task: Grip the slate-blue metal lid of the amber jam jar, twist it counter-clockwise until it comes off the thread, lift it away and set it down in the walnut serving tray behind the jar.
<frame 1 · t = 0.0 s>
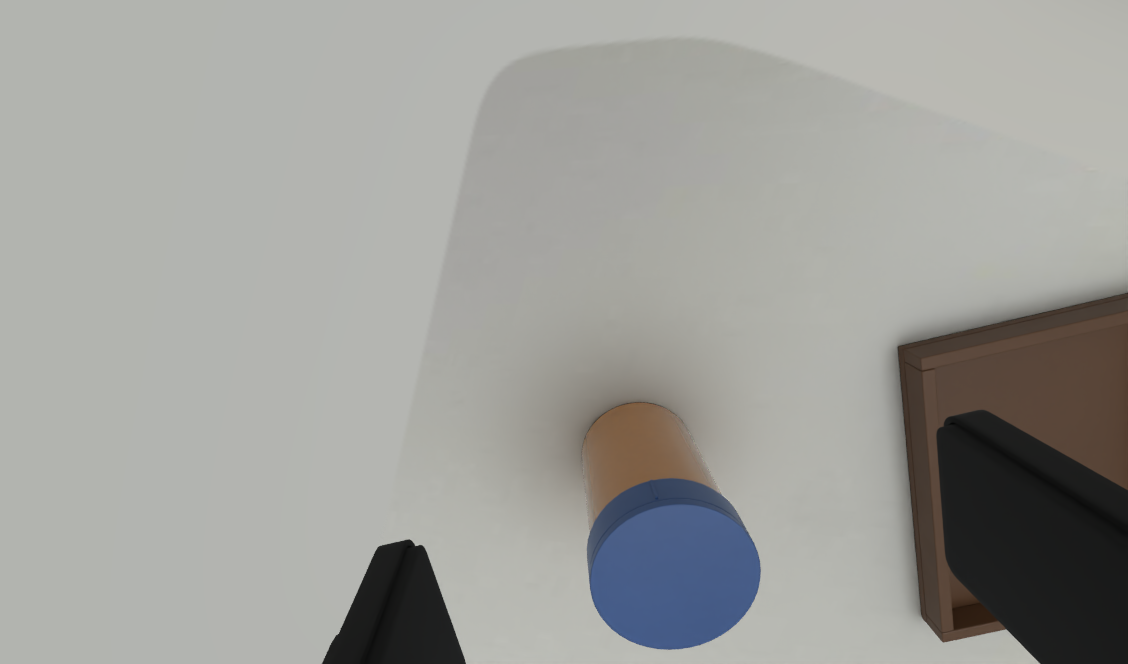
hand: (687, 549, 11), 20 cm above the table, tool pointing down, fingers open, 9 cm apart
tray: (1031, 464, 33), on the table
jar: (637, 453, 32), on the table
lid: (673, 573, 23), point 10 cm above the table, screwed on, not yet turned
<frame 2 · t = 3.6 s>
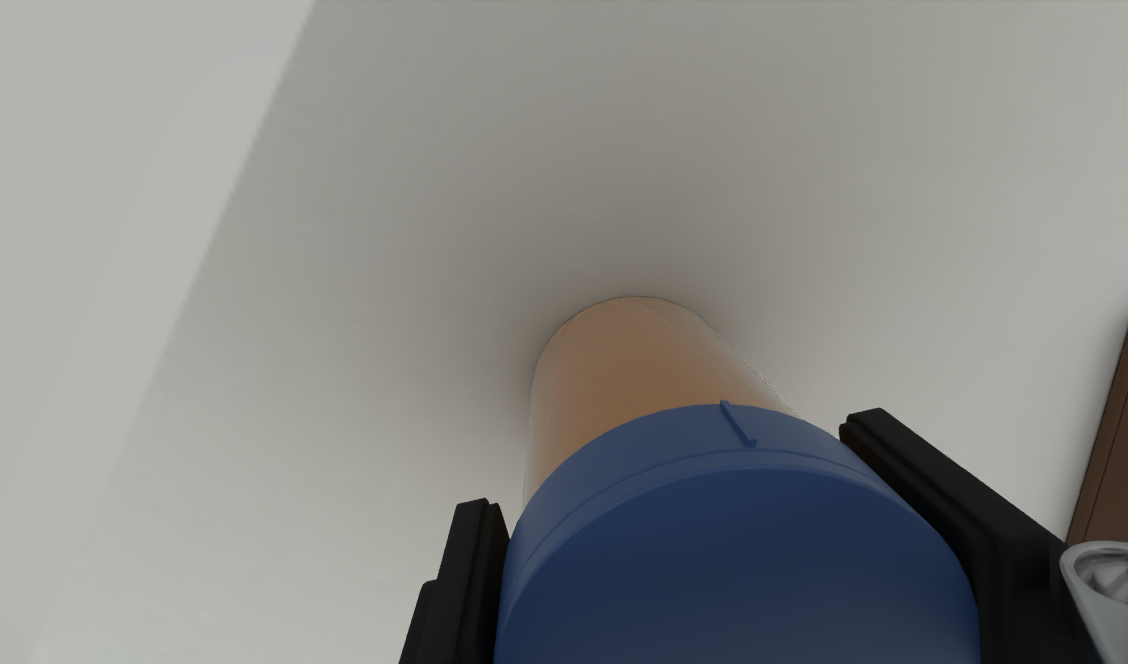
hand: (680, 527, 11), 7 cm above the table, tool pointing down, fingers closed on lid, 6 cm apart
jar: (632, 395, 18), on the table
lid: (729, 662, 8), point 10 cm above the table, screwed on, not yet turned, touching gripper
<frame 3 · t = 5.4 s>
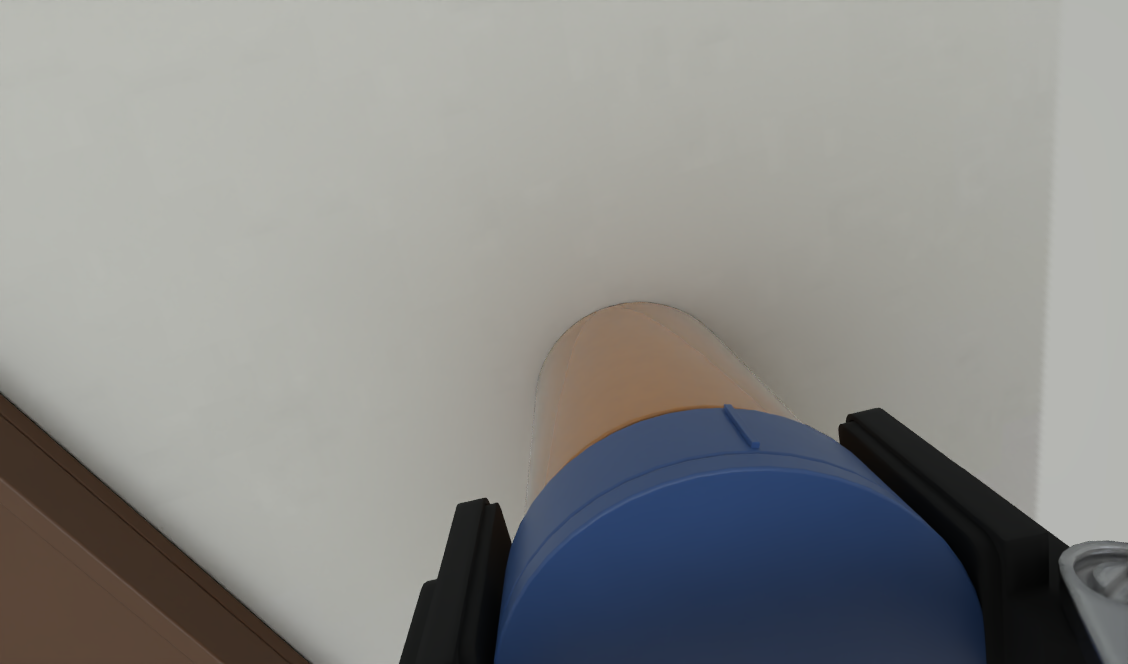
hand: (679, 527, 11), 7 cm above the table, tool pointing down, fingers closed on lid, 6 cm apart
tray: (20, 642, 20), on the table
jar: (636, 400, 18), on the table
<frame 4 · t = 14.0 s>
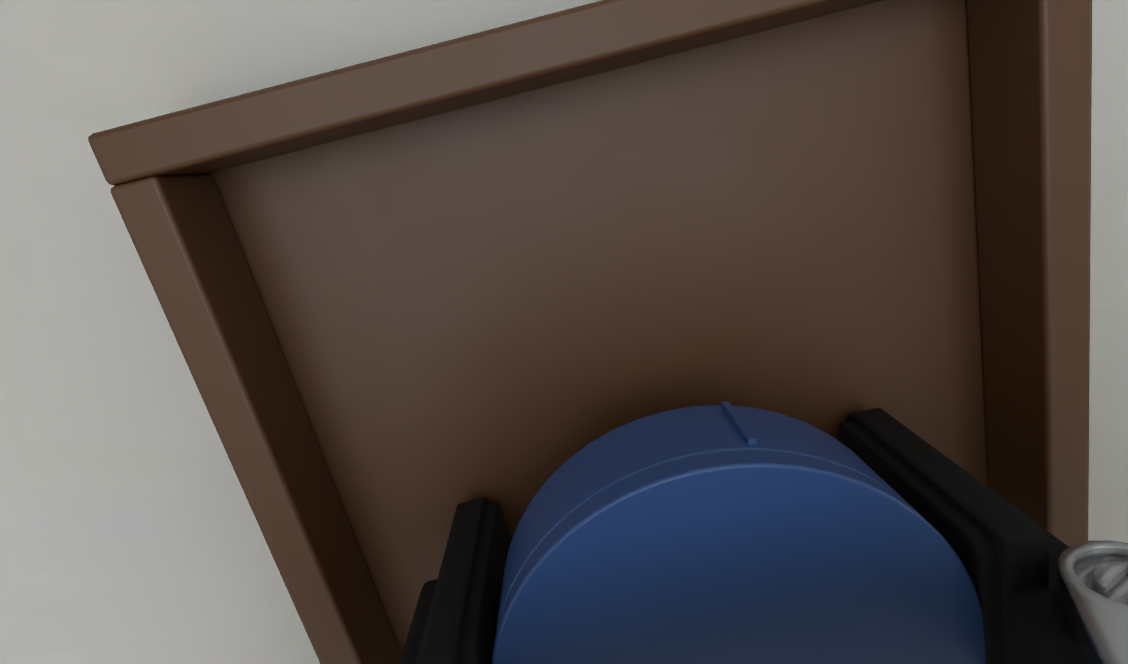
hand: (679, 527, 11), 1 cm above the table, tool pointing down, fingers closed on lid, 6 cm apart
tray: (668, 500, 12), on the table
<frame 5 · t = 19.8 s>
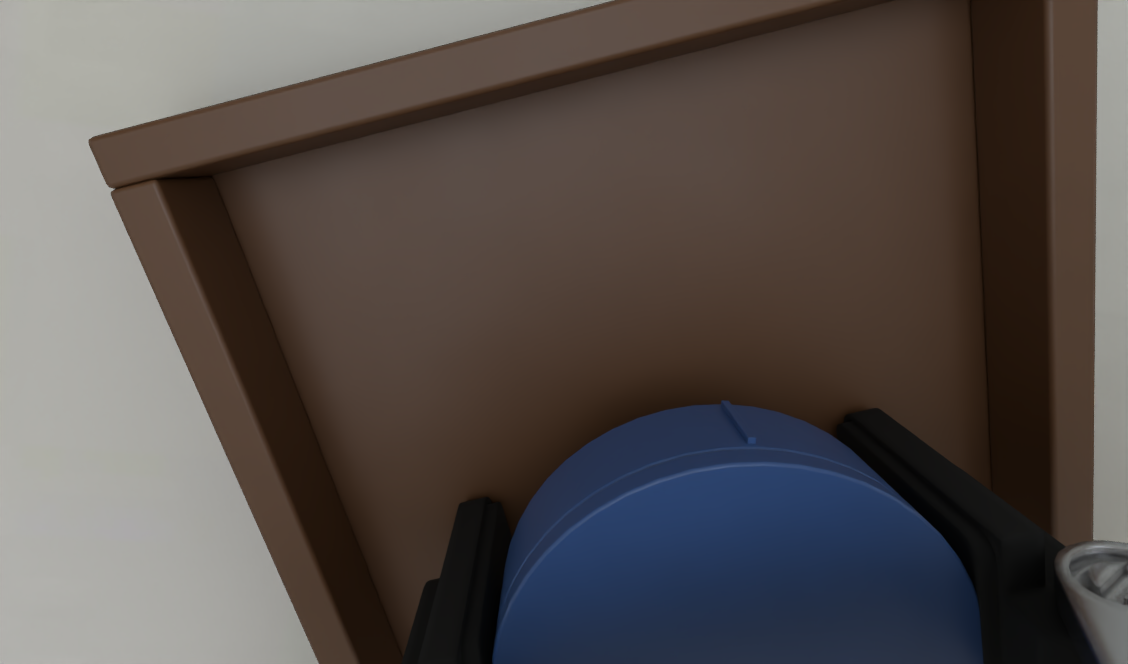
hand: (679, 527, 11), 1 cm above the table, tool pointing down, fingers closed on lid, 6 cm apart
tray: (670, 503, 12), on the table
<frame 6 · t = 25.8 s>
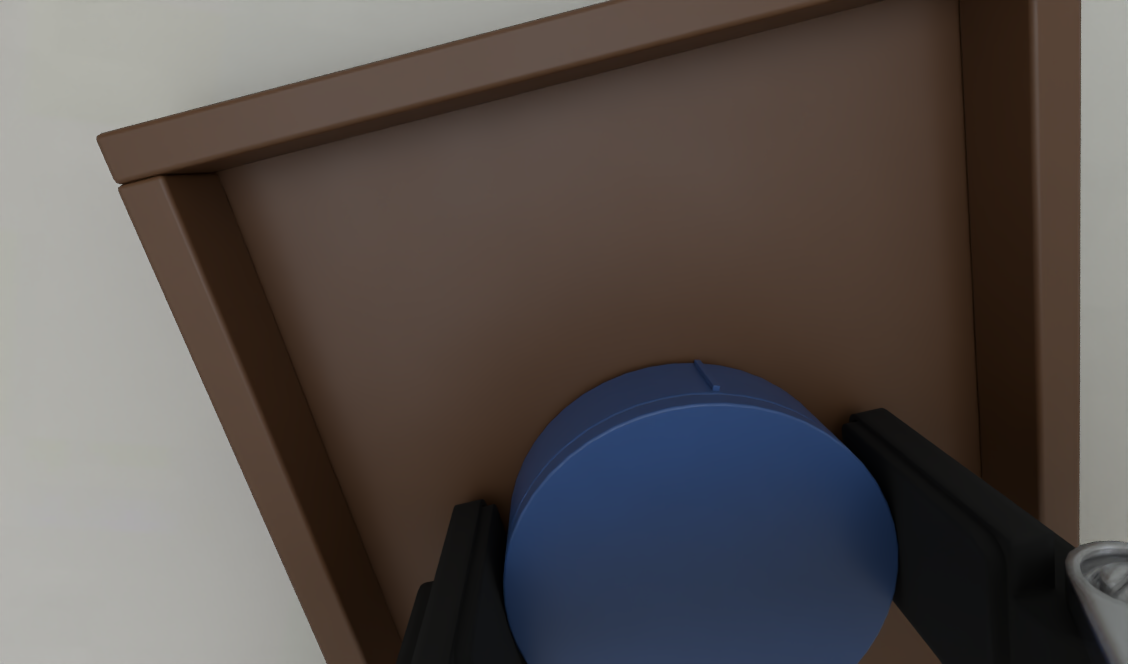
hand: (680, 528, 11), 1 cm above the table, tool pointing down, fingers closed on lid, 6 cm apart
tray: (666, 495, 12), on the table
lid: (695, 571, 10), point 2 cm above the table, off its thread, touching gripper
when the fingers open (2 cm above the table, at t = 26.2 s): lid drops 1 cm, resting on tray.
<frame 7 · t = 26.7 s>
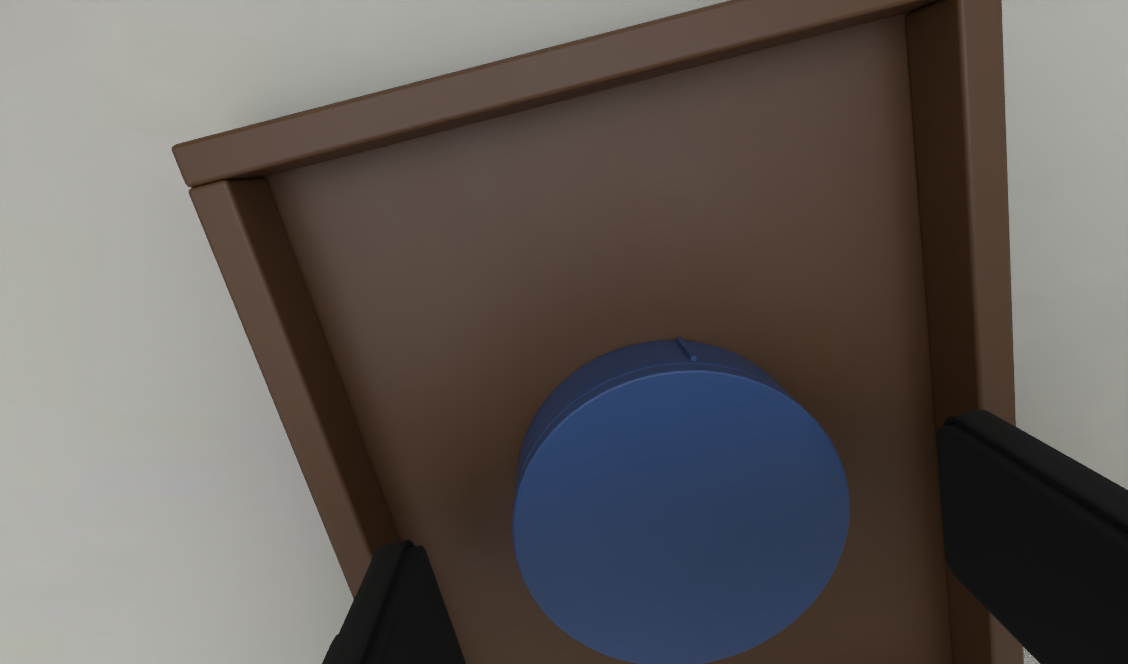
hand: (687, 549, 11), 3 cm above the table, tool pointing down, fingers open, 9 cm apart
tray: (657, 464, 14), on the table
lid: (677, 518, 12), point 2 cm above the table, off its thread, touching tray
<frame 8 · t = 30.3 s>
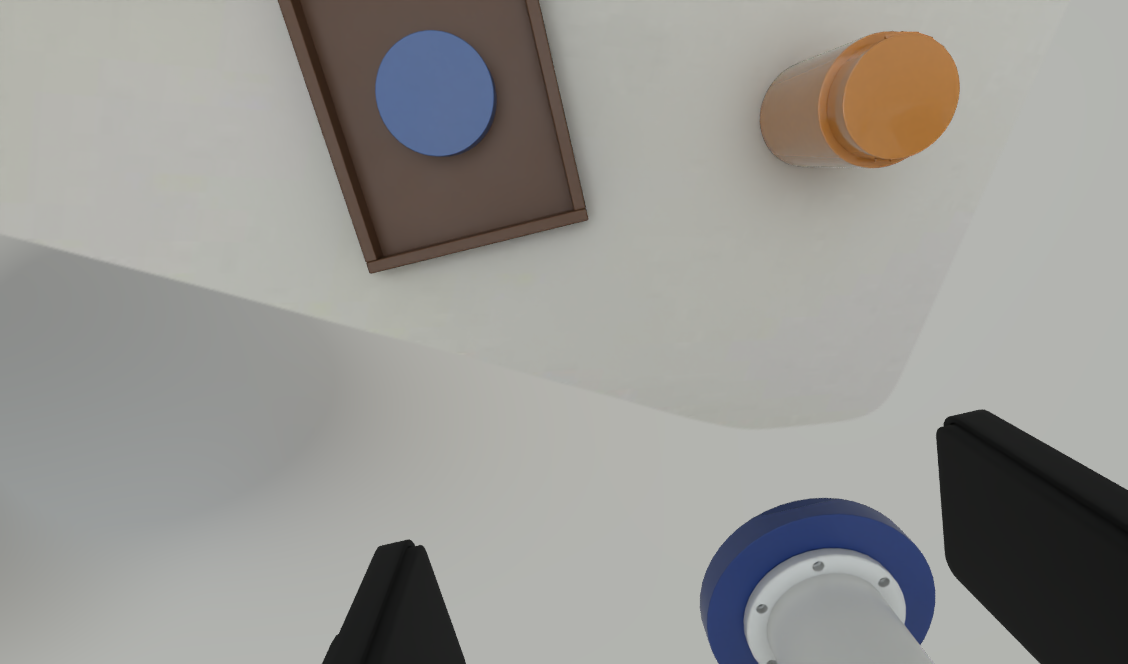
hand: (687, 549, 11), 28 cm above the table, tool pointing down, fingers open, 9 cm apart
tray: (441, 97, 35), on the table
jar: (809, 114, 36), on the table
lid: (436, 95, 33), point 2 cm above the table, off its thread, touching tray
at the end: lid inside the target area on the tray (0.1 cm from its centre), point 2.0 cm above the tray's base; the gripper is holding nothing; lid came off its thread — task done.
